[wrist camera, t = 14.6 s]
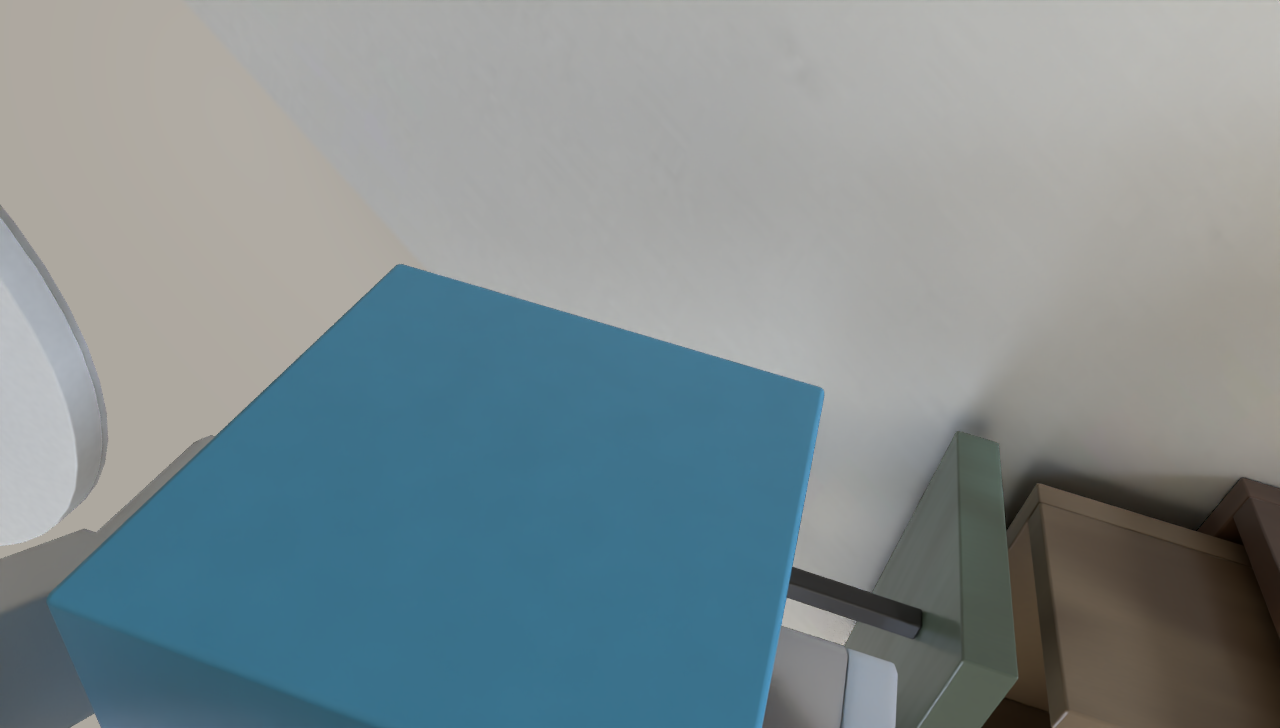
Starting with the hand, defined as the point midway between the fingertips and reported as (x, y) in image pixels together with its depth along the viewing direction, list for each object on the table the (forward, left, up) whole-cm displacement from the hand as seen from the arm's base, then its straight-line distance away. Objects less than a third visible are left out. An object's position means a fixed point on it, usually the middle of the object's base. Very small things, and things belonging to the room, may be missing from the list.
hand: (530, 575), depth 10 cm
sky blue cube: (0, 0, -2) cm, 2 cm away
